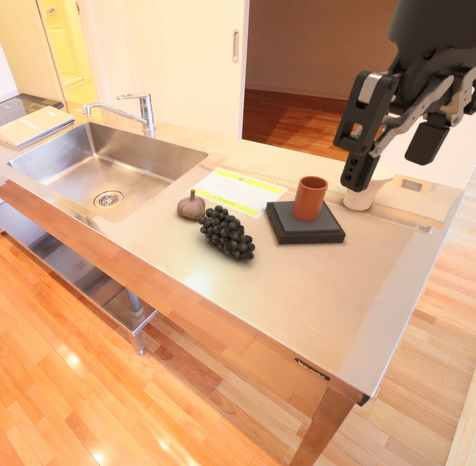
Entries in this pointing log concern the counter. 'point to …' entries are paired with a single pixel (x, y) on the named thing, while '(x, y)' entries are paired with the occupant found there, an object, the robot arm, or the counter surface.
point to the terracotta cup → (309, 198)
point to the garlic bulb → (192, 206)
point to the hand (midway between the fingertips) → (385, 174)
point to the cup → (369, 188)
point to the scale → (303, 225)
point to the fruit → (227, 233)
